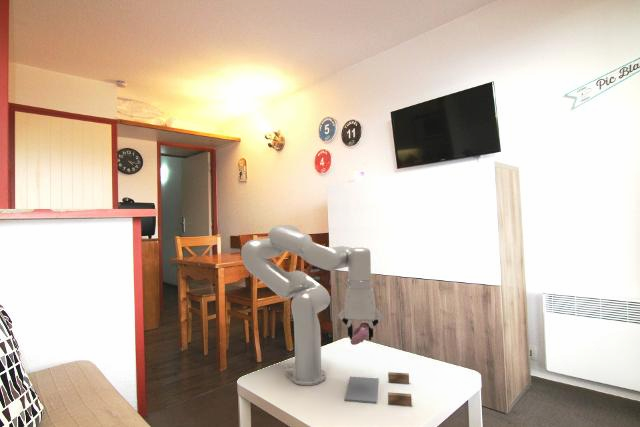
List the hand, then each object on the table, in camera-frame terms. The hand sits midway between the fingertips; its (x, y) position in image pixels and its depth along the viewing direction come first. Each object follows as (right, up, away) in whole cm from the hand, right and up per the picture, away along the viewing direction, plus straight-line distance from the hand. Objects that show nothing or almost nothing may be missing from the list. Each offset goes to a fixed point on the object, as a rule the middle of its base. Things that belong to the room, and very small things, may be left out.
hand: (360, 338), depth 115 cm
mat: (+1, -17, -1) cm, 17 cm away
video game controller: (0, -1, 0) cm, 1 cm away
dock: (+12, -17, -3) cm, 21 cm away
